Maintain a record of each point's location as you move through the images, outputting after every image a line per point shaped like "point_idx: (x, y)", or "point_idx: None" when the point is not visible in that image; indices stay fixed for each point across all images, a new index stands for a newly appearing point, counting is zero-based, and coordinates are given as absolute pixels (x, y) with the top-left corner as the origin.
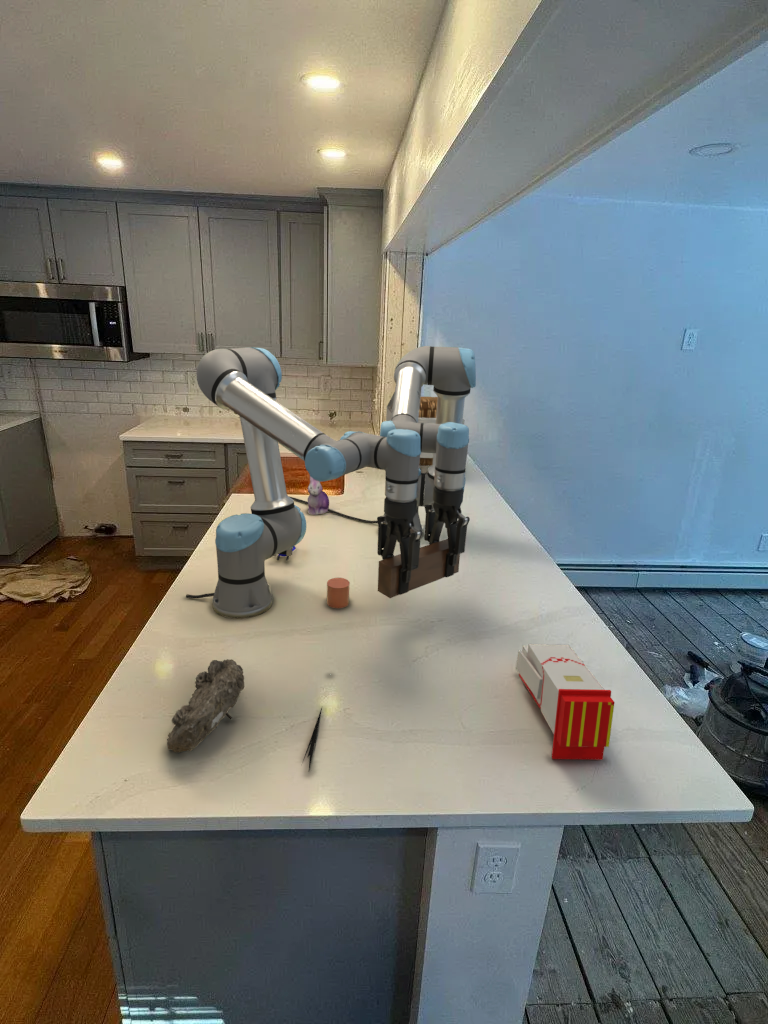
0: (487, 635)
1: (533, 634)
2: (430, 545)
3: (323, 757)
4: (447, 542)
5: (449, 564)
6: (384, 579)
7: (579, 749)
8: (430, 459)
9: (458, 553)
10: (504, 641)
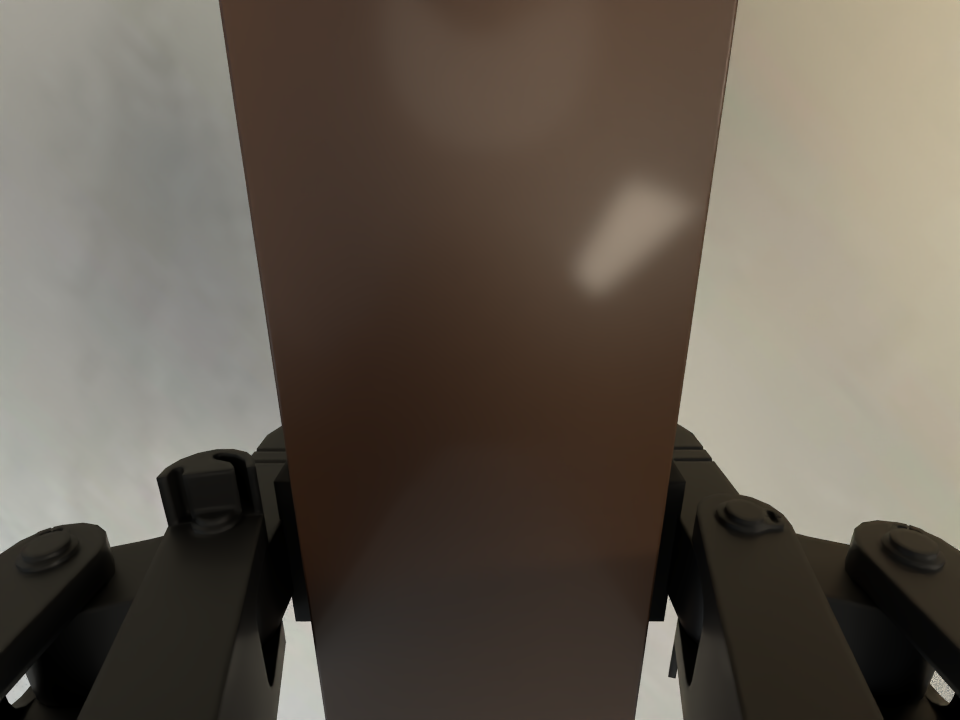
0: (108, 292)
1: (26, 475)
2: (629, 408)
3: None
4: (514, 717)
5: None
6: None
7: None
8: None
9: (11, 560)
10: (22, 318)
